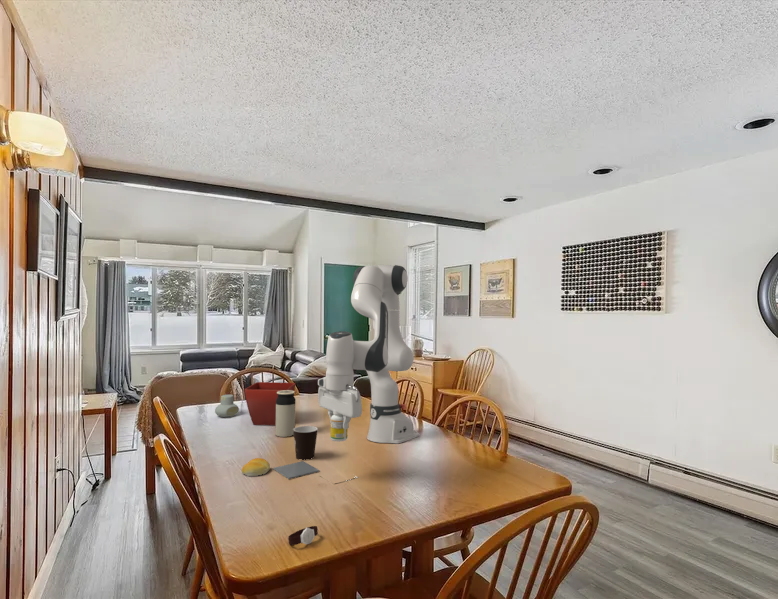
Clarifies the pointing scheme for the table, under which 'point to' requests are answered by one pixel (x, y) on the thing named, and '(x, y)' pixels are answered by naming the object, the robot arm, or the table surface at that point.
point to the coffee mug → (305, 441)
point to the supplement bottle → (337, 427)
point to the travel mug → (285, 413)
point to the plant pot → (264, 401)
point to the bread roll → (256, 467)
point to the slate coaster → (296, 469)
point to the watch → (303, 536)
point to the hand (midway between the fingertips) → (339, 426)
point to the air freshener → (227, 407)
